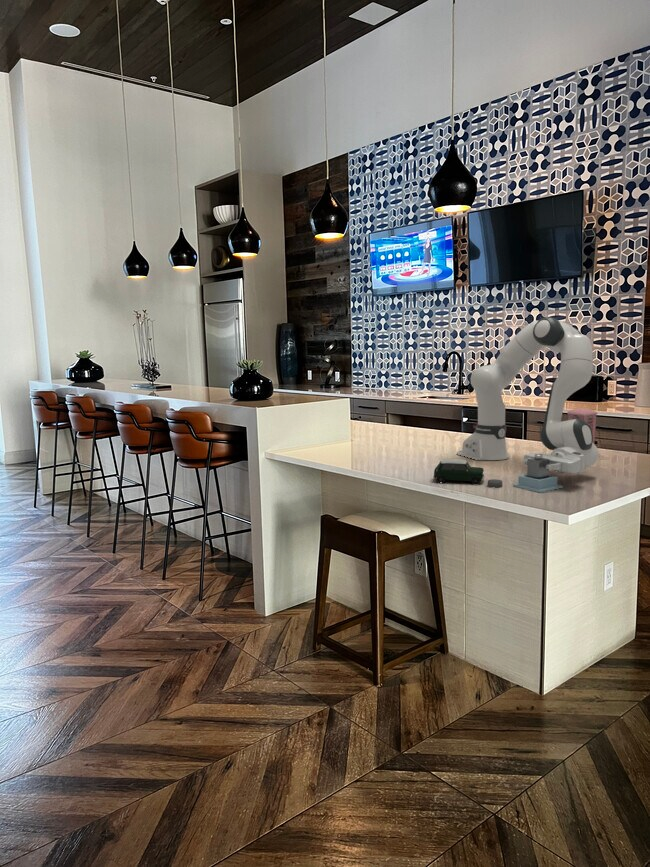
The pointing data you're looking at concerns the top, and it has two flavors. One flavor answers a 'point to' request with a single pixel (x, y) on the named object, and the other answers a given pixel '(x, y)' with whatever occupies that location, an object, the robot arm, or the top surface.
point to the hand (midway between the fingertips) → (536, 465)
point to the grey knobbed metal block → (537, 467)
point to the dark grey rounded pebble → (495, 483)
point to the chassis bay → (537, 483)
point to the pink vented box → (584, 417)
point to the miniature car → (457, 471)
